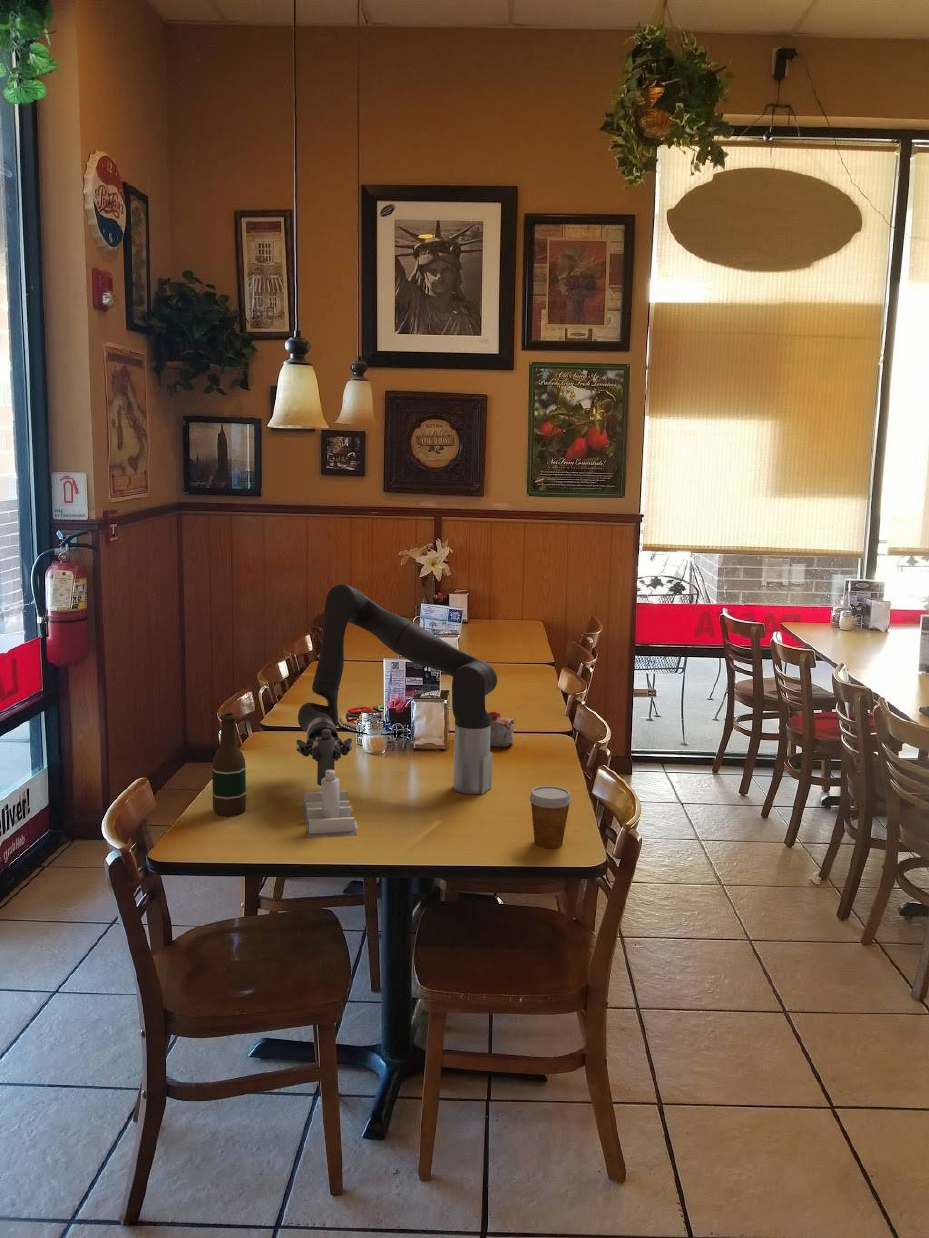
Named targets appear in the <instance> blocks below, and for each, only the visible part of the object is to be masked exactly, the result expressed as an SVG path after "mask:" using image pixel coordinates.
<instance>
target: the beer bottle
mask: <svg viewBox="0 0 929 1238" xmlns="http://www.w3.org/2000/svg"><path fill="white" fill-rule="evenodd" d="M219 720H221V721H220V723H221V724H220V741H219V746H218V748H217V750H216V751H215V753H214V755H213V758H212V766H211V771H212V772H211V773H212V775H211V777H212V809H213V812H214V813H215V815H217V817H218V816H220V817H226V818H229V817H235V816H240V815H241V814H243V813H244V812H246V810H247V809H246V808H247V807H246V806H247V787H246V786H247V784H246V782H247V781H246V779H247V777H246V776H247V775H246V773H247V771H246V768H247V766H246V759H245V756H244V754H243V752H242V751H241V749H240V748H239V746H238V740H237V739H238V737H237V728H236V726H237V725H236V720H237V715H236V714H235V713H232V712H225V713H222V714H221V715H220V718H219Z"/></svg>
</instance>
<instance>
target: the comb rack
mask: <svg viewBox="0 0 929 1238" xmlns="http://www.w3.org/2000/svg"><path fill="white" fill-rule="evenodd" d="M301 801H302V809H303V815H304V822H305V829H306V836H307V839H316V838H335V837H353V836H355V837H356V836H358V833H357V830H358V829H359V826H358V823H357V820H355V816H353V813H352V812H354V808H353V805H352V803H351V802H350V799H348V791H347V790H339V818H323V819H322V797H321V791H306V792H304V800H301ZM350 803H351V804H350Z"/></svg>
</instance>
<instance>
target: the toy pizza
mask: <svg viewBox="0 0 929 1238" xmlns="http://www.w3.org/2000/svg"><path fill="white" fill-rule="evenodd" d="M383 709H384V704H381V705H375V706H372V707H369V706H357V707H352V708H348V709H347V712H346V713H344V714H342V715H341V716H340V717H338V722H341V723H338V725H340V727H342V728H343V727H344V728H343V729H345V728H346V729H345V730H347V729H348V730H347V731H351V732H353V733H356V732H355V731H356V730H355V729H356V724H357V719H358V718H359V716H360V714H361V712H365V711H373V710H376V711H377V712H383ZM342 724H343V725H342ZM344 725H345V726H344ZM346 726H347V727H346ZM348 727H349V728H348Z"/></svg>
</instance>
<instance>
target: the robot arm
mask: <svg viewBox="0 0 929 1238" xmlns="http://www.w3.org/2000/svg"><path fill="white" fill-rule="evenodd" d="M324 604H325V605H324V613H323V614H324V616H323V617H324V618H323V625H322V626H323V628H322V636H321V645H320V650H319V654H318V655H319V656H318V660H317V661H318V662H317V664H316V669H315V674H314V676H313V682H312V686H311V690H312V692H313V693H314V694H316V695H317V696H320V697H322V698H324V699H325V700H326V702H327V705H323V704H320V703H319V704H318V703H315V702H306V703H304V704H302V706H301V707H300V709H299V710H298V712H297V713H298V714H297V721H298V724H299V727H300V728H301V729H302V730H303V731H304V732H305V733H306V741H305V740H302V739H297V740H296V751H297V752H298V753H299V754H300V755H303V757H305V758H306V757H309V756H311V759H312V760H315V762H318V761H319V752H318V738H319V737H322V730H324V729H329V730H331V737H334V738H335V756H334V758H335V761H337V762H338V761H339V759H341V758H342V756H347V755H348V754H349V753H350V752H351V751H352V747H353V739H352V738H347V739H344V740H342V739H341V738H339V734H338V731H337V727H338V725H339V723H338V719H339V710H338V708H339V707H338V696H339V689H340V685H341V682H342V677H343V674H344V666H345V654H344V652H345V651H344V649H345V648H344V645H345V644H344V643H345V642H344V641H345V634H346V629H347V625H348V623H351V624H352V625H354V626H357V627H359V628H361V629H363V630H365V631H367V632H369V633H371V634H372V635H373V636H374V637H376V638H377V639H378V640H379V641H380V642H381V643H382V644H383V645H385V646H386V647H387V648H388V649H390V650H391V651H393V652H394V653H396V654H397V655H399V656H401V657H403V658H404V659H405V660H407V661H410V662H411V663H414V664H417V665H418V666H419V665H420V666H423V667H427V668H431V669H433V670H437V671H441V672H442V673H443V672H444V673H445V674H447V675H448V676H451V677H452V680H451V681H452V682H451V709H452V713H453V714H452V715H453V717H454V740H453V741H454V745H453V746H454V748H453V749H454V750H453V781H452V782H453V785H452V788H453V789H454V791H456V792H458V793H462V794H470V795H471V794H472V795H473V794H476V795H478V794H481V795H483V794H485V793H486V792H488V791H489V790H490V789H492V784H493V783H492V782H493V781H492V780H493V752H492V751H490V750H491V746H490V728H491V716H490V714H489V712H488V711H487V710H486V696H487V695H489V694H491V692H493V691H494V690H495V688H496V687H497V684H498V675H497V673H496V671H495V669H494V667H493V666H492V665H491V664H489V663H488V662H486V661H485V660H483V659H480V658H478V657H476V656H473V655H471V654H469V653H466V652H465V651H462V650H460V649H458V648H456V647H454V646H453V645H451V644H450V643H448V642H446V641H445V640H443V639H442V638H439V636H436V635H435V634H434V633H431V632H430V631H428V630H427V629H425V628H423V626H420V625H418V624H417V623H414V622H413V621H411V620H409V619H407V618H405V617H403V616H401V615H398V614H396V613H393V612H391V611H388V610H387V609H384V607H381V606H380V605H378V603H376V602H374V601H373V600H372V599H370V597H368V596H367V595H365V594H364V593H363V592H362V591H361V590H359V589H357V588H355V587H353V586H352V585H348V584H345V583H340V584H335V585H334V586H332V587H331V588H330V589H329V590H328V592H327V594H326V598H325V603H324Z"/></svg>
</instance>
